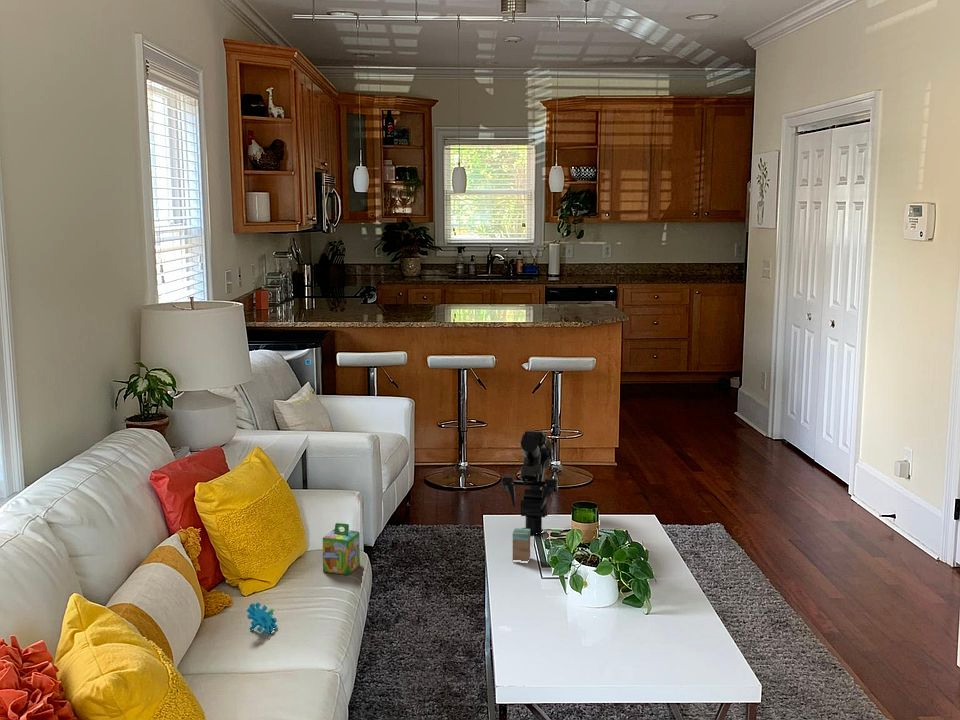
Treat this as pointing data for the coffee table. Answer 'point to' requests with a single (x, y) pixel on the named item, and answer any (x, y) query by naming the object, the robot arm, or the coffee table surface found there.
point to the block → (521, 544)
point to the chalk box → (341, 550)
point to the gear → (261, 618)
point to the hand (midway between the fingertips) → (527, 507)
